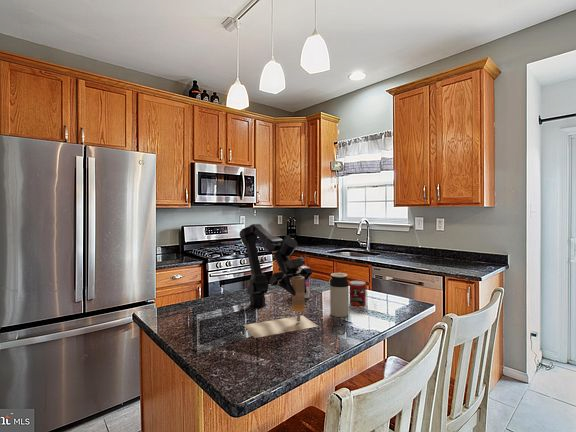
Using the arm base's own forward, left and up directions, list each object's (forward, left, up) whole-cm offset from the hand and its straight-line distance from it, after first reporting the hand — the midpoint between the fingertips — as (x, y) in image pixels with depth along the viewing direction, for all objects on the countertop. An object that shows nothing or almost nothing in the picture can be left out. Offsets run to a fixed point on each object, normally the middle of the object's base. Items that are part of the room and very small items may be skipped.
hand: (300, 294), depth 126 cm
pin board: (-6, -5, -13) cm, 16 cm away
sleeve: (-1, +1, -7) cm, 7 cm away
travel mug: (+10, +21, -13) cm, 27 cm away
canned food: (+14, +39, -13) cm, 43 cm away
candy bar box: (-17, +42, -14) cm, 47 cm away
